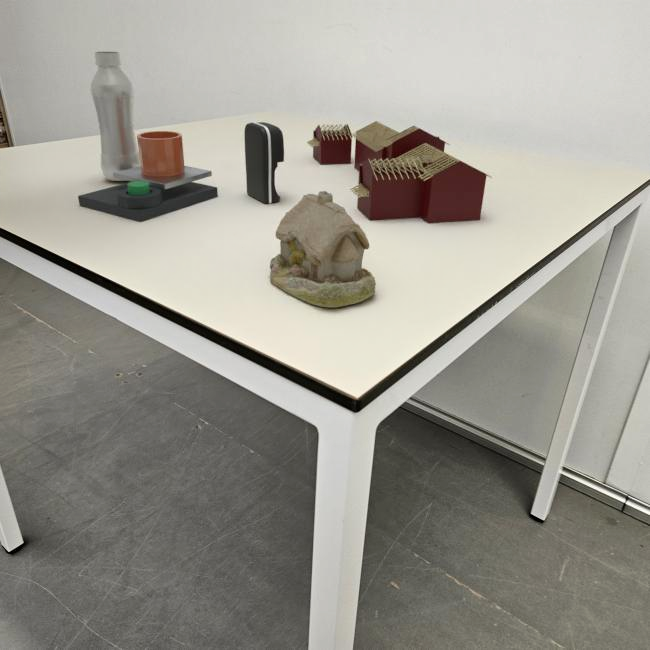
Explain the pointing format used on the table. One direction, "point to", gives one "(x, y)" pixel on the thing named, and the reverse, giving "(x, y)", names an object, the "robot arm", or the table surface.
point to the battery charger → (263, 160)
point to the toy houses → (404, 173)
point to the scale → (146, 200)
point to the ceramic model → (321, 254)
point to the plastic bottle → (114, 115)
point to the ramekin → (161, 153)
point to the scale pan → (163, 182)
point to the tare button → (138, 188)
